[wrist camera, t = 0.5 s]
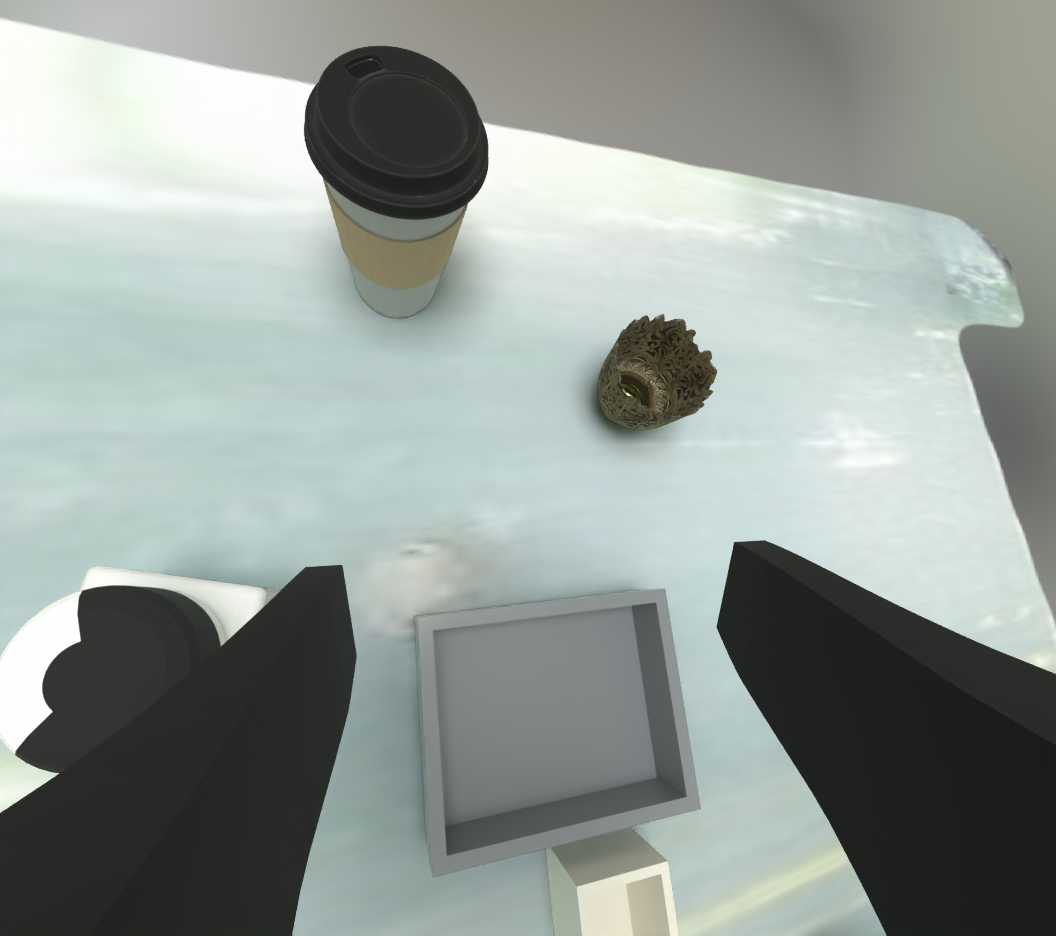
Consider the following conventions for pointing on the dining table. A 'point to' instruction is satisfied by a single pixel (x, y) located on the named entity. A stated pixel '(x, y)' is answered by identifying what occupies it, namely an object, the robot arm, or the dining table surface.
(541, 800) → the grey crate
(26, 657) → the container
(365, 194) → the coffee cup
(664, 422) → the cup
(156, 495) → the dining table surface
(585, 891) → the cream crate
